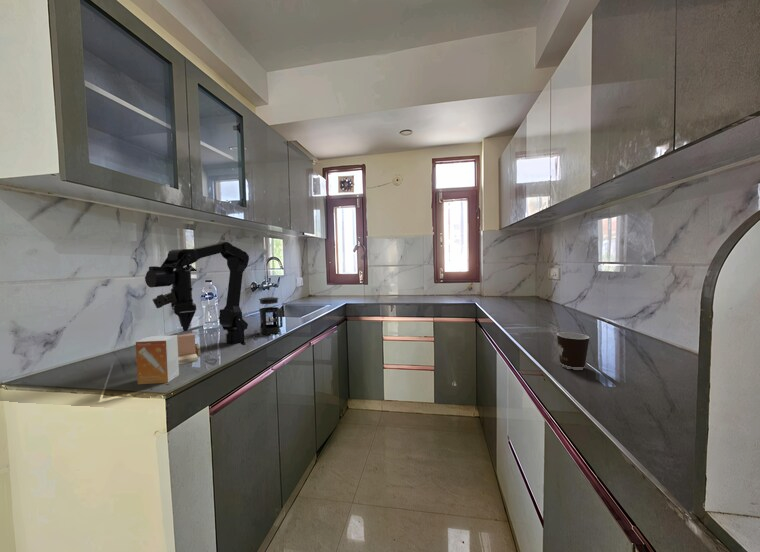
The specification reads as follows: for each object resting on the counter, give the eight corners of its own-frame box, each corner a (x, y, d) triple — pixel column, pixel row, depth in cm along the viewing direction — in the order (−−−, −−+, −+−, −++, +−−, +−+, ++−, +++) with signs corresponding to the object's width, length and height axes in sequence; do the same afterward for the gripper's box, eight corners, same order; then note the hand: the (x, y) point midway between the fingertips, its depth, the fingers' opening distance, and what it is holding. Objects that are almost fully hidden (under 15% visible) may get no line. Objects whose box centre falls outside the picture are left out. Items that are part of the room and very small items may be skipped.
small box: (137, 387, 86) (134, 341, 85) (150, 378, 92) (148, 336, 91) (168, 385, 87) (166, 340, 86) (179, 376, 93) (177, 334, 92)
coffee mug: (589, 374, 90) (590, 340, 89) (555, 369, 94) (556, 337, 94) (587, 362, 99) (588, 332, 99) (557, 358, 104) (557, 329, 103)
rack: (197, 353, 117) (197, 343, 116) (200, 358, 110) (200, 347, 110) (169, 358, 111) (168, 347, 111) (170, 364, 105) (170, 352, 104)
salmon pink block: (194, 357, 112) (193, 333, 111) (195, 359, 109) (194, 334, 109) (175, 361, 108) (173, 336, 108) (175, 363, 106) (174, 337, 105)
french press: (254, 334, 145) (252, 286, 144) (265, 330, 154) (264, 285, 153) (276, 335, 143) (275, 286, 142) (286, 331, 152) (285, 285, 151)
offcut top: (196, 357, 109) (195, 353, 109) (198, 361, 105) (198, 356, 105) (177, 361, 105) (177, 356, 105) (178, 364, 102) (178, 360, 102)
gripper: (153, 284, 110) (155, 327, 111) (153, 288, 95) (156, 337, 96) (189, 283, 117) (191, 323, 118) (195, 285, 102) (197, 332, 103)
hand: (184, 328), depth 108 cm, fingers open, 9 cm apart
